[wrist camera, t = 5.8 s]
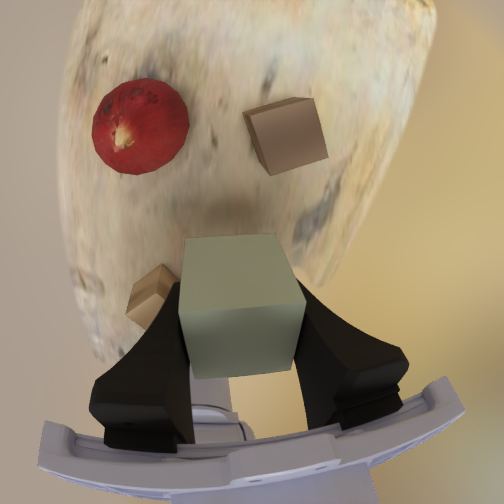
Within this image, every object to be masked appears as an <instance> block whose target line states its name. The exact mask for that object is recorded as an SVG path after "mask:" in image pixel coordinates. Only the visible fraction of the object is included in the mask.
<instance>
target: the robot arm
mask: <svg viewBox="0 0 504 504" xmlns="http://www.w3.org/2000/svg"><path fill="white" fill-rule="evenodd" d="M296 280H297V282H298V284H299V286H300V288H301V291H302V293H303V295H304V297H305V300H306V306H305V311H304V316H303V320H302V325H301V329H300V333H299V338H298V342H297V346H296V350H295V354H294V358H293V359H294V362H295V365H296V369H297V373H298V377H299V382H300V386H301V391H302V396H303V401H304V406H305V412H306V418H307V424H308V431H304V432H298V433H294V434H288V435H282V436H276V437H271V438H264V439H255V436H254V432H253V431H252V429H251V428H250V427H249V426H248V425H247V423H246V422H244V421H239V419H238V413H237V412H232V405H231V397H230V390H229V382H228V377H227V378H212V379H194V375H193V371H192V367H191V364H190V360H189V356H188V352H187V348H186V344H185V339H184V335H183V331H182V326H181V322H180V317H179V313H178V311H179V297H180V285H181V282H174V283H173V285H172V287H171V289H170V291H169V294H168V296H167V297H166V299H165V301H164V303H163V305H162V307H161V308H160V310H159V312H158V314H157V315H156V317H155V318H154V320H153V321H152V323H151V324H150V326H149V327H148V329H147V330H146V332H145V333H144V334H143V335H142V337H141V338H140V339H139V341H138V342H137V343H136V344H135V345H134V346H133V347H132V349H131V350H130V351H129V352H128V353H127V354H126V355H125V356H124V357H123V358H122V359H121V360H120V361H119V362H117V363H116V364H115V365H114V366H113V367H112V368H111V369H110V370H108V371H107V372H106V373H104V374H103V375H102V376H100V377H99V378H98V379H97V380H95V384H94V386H93V389H92V393H91V398H90V404H89V411H90V413H91V414H92V416H93V417H94V418H96V420H97V421H98V422H100V423H101V424H102V425H103V426H104V427H105V432H104V438H99V437H93V436H88V435H83V434H78V433H75V431H73V430H72V429H71V428H69V427H67V426H65V425H62V424H58V423H54V422H50V421H44V426H43V432H42V437H41V443H40V449H39V456H38V464H37V466H38V467H39V468H40V469H42V470H44V471H46V472H48V473H51V474H53V475H55V476H57V477H59V478H61V479H64V480H66V481H69V482H72V483H76V484H79V485H82V486H86V487H90V488H94V489H98V490H102V491H106V492H111V493H116V494H121V495H126V496H132V497H138V498H145V499H153V500H163V501H169V502H171V503H172V504H380V502H379V498H378V495H377V492H376V489H375V487H374V484H373V481H372V478H371V475H370V472H369V468H372V467H374V466H377V465H379V464H381V463H383V462H385V461H388V460H389V459H392V458H394V457H396V456H398V455H400V454H402V453H404V452H406V451H408V450H409V449H412V448H413V447H415V446H417V445H419V444H421V443H423V442H424V441H426V440H428V439H430V438H431V437H433V436H435V435H436V434H438V433H440V432H441V431H442V430H444V429H445V428H446V427H448V426H449V425H450V424H451V423H453V422H454V421H455V420H456V419H458V418H459V417H460V416H461V415H462V414H464V413H465V412H466V410H465V408H464V406H463V404H462V402H461V400H460V399H459V397H458V395H457V393H456V392H455V390H454V388H453V386H452V385H451V383H450V381H449V380H448V378H447V376H443V377H441V378H439V379H437V380H435V381H433V382H431V383H430V384H429V385H427V386H426V387H425V388H424V389H423V391H422V392H421V393H419V394H417V395H414V396H412V397H410V398H408V399H405V400H403V401H401V399H400V397H399V395H398V392H399V391H400V388H399V386H398V385H397V383H398V382H399V381H400V380H401V379H402V377H403V376H404V375H405V373H406V372H407V370H408V367H409V362H408V360H407V358H406V357H405V355H404V353H403V352H402V350H401V349H400V347H397V346H394V345H391V344H388V343H386V342H383V341H381V340H379V339H376V338H374V337H372V336H370V335H368V334H366V333H364V332H362V331H360V330H359V329H357V328H355V327H354V326H352V325H350V324H349V323H347V322H346V321H344V320H343V319H342V318H340V317H339V316H337V315H336V314H334V313H333V312H332V311H331V310H330V309H328V308H327V307H326V306H325V305H323V304H322V303H321V302H320V301H319V300H318V299H317V298H316V297H315V296H314V295H312V293H310V291H309V290H307V288H305V286H304V285H303V284H302V283H301V282H300V281H299V280H298V279H297V278H296Z"/></svg>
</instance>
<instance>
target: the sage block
mask: <svg viewBox="0 0 504 504" xmlns="http://www.w3.org/2000/svg"><path fill="white" fill-rule="evenodd" d="M305 306H306V300H305V297H304V295H303V293H302V291H301V288H300V286H299V284H298V282H297V280H296V277H295V275H294V273H293V271H292V268H291V266H290V264H289V262H288V260H287V258H286V255H285V253H284V251H283V249H282V247H281V245H280V242H279V240H278V238H277V236H276V234H275V233H272V234H250V235H231V236H212V237H195V238H185V246H184V255H183V264H182V275H181V285H180V297H179V311H178V313H179V317H180V322H181V326H182V331H183V335H184V339H185V344H186V348H187V352H188V356H189V360H190V364H191V367H192V371H193V375H194V379H212V378H227V377H238V376H248V375H257V374H266V373H273V372H280V371H287V370H291V366H292V362H293V358H294V354H295V350H296V346H297V342H298V338H299V333H300V329H301V325H302V320H303V316H304V311H305Z"/></svg>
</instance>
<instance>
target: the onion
mask: <svg viewBox="0 0 504 504" xmlns="http://www.w3.org/2000/svg"><path fill="white" fill-rule="evenodd" d="M189 126H190V125H189V118H188V111H187V106H186V105H185V103H184V102H183V100H182V98H181V97H180V95H179V94H178V92H177V91H175V90H174V89H173V88H171V87H170V86H169V85H167V84H166V83H165V82H162V81H157V80H153V79H148V78H143V79H138V80H133V81H129V82H125V83H122V84H120V85H119V86H118V87H116V88H115V89H114V90H112V91H111V92H110V93H108V94H107V95H106V96H104V98H103V99H102V101H101V103H100V105H99V107H98V109H97V111H96V113H95V115H94V117H93V126H92V139H93V143H94V147H95V151H96V152H97V154H98V155H99V156H100V158H101V159H102V160H103V161H104V163H105V164H107V165H108V166H109V167H111V168H112V169H114V170H115V171H117V172H118V173H125V174H132V175H140V174H144V173H148V172H152V171H155V170H157V169H159V168H160V167H162V166H163V165H165V164H166V163H168V162H169V161H171V160H172V159H173V158H174V157H175V155H176V154H177V153H178V151H179V150H180V149H181V147H182V146H183V145H184V142H185V139H186V135H187V132H188V129H189Z"/></svg>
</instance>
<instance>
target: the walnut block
mask: <svg viewBox="0 0 504 504" xmlns="http://www.w3.org/2000/svg"><path fill="white" fill-rule="evenodd" d="M242 114H243V117H244V119H245V122H246V125H247V128H248V131H249V133H250V136H251V139H252V142H253V145H254V148H255V151H256V154H257V156H258V159H259V162H260V163H261V165H262V166H263V167H264V169H265V170H266V171H267V173H268V174H269V175H270V176H273V175H276V174H279V173H282V172H285V171H288V170H291V169H294V168H297V167H300V166H303V165H306V164H310V163H313V162H316V161H319V160H322V159H326V158H329V157H328V153H327V149H326V144H325V140H324V136H323V132H322V128H321V124H320V121H319V117H318V113H317V109H316V106H315V102H314V99H313V98H295V97H294V98H290V99H286V100H283V101H279V102H275V103H272V104H268V105H265V106H262V107H258V108H255V109H252V110H249V111H246V112H243V113H242Z"/></svg>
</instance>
